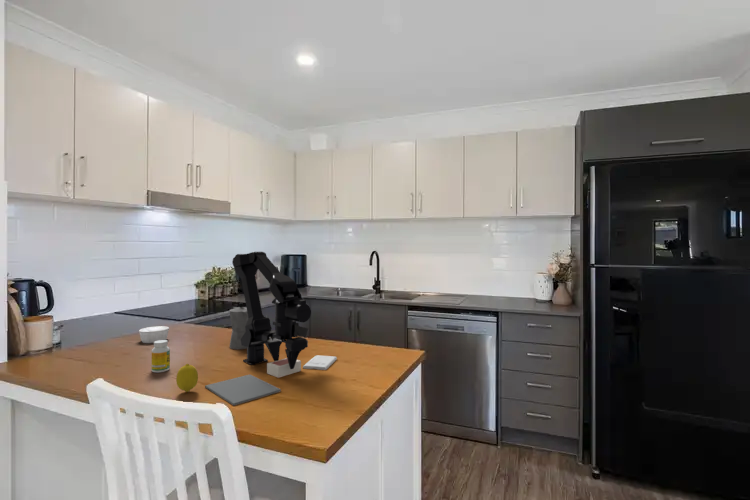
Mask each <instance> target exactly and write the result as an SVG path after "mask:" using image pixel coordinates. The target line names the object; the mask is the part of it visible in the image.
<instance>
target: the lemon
mask: <svg viewBox="0 0 750 500" xmlns="http://www.w3.org/2000/svg"><path fill="white" fill-rule="evenodd" d="M175 381H176V385H177V388H179V389H180V390H182V391H184V392H186V393H189V392H190V391H191V390H193V389H194V388H195V387H196V386H197V384H198V381H199V373H198V370H197V368H196V367H195V366H194V365H192V364H189V363H186V364H185V365H183V366H181V367H180V368H179V369H178V371H177V374H176V380H175Z"/></svg>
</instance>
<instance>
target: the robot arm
mask: <svg viewBox="0 0 750 500" xmlns="http://www.w3.org/2000/svg"><path fill="white" fill-rule="evenodd" d="M232 266H233V268H234V272H235V274H236V275H237V276H238V277H239V278H240V279H241V284H242V290H243V295H244V301H245V308H247V313H248V320H247V323H246V326H245V330H246V332H245V333H244V335H243V337H242V338H241V345H242V346H245V347H247V348H246V358H244V359H243V361H242V362H244V363H246V364H248V365H251V366H253V365H258V364H262V363H266V362H268V361H269V359H267V358H265V346H266V348H267V350H268V352H269V353H270V355H271V357H272V360H273V362H274V361H278V360H280V350H281V345H282V343H283V344H284V346H285V349H284V352H285V356H286V358H287V359H288V363H289V366H290V369H294V366H295V363H296V360H298V357H299V356H300V355H299V354H300V353H301V352H302V351H303V350H305V349H307V348H309V341H308V340H307V339H306V338H307V336H308V333H309V330H310V329H309V328H308V327H304V326H300V325H299V323H306V322H308V321H309V319H310V318H311V316H312V310H311V307H310V306H309V305H308V304H307V300H305V299H303V297H302V294H301V292H300V291H299V287H298V286H297V283H296V281H295V280H294V279H293V278H291V277H290V276H288V275H286V274H283V273H282V272H281V271H280V270H279V269H278V268H277V266H276V265H275V264H274V263H273V262H272V261H271V259H269V257H267V253H266V252H264V251H252V252H249V253H237V254H235V256H234V257H233V258H232ZM258 271H259V272H260V274H262V276H263V277H264V279H266V280H267V282H268V284H269V290H270V292H271V294H272V296H273V297H274V299H273V300H272V301H271V304H273V305H275V312H274V313H275V316H274V317H275V321H273V320H272V325H274V326H275V327H274V328H275V329H273V330H272V326H271V319H270V318H269V317H265V315H264V314H263V309H262V305H261V299H260V294H259V289H258V283H257V278H256V275H257V272H258Z"/></svg>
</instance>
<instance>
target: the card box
mask: <svg viewBox="0 0 750 500" xmlns="http://www.w3.org/2000/svg"><path fill="white" fill-rule="evenodd" d="M301 371H302V360H300V359H297V360H296V363H295V366H294V369H290V366H289V363H288V359H287V357H285V358H282V359H279V360H278V361H274V360H273V361H270V362H267V363H266V374H267V375H270V376H273V377H276V378H282V377H285V376H288V375H292V374H294V373H298V372H301Z"/></svg>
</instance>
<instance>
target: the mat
mask: <svg viewBox="0 0 750 500" xmlns="http://www.w3.org/2000/svg"><path fill="white" fill-rule="evenodd" d="M204 387H205V389H207V390H208V391H210V392H212V393H213V394H215V395H216V396H218V397H219V398H221V399H222V400H224V401H226V402H227V403H229V404H230V405H232V406H237V405H240V404H244V403H247V402H250V401H254V400H258V399H261V398H263V397H267V396H270V395H274V394H277V393H281V392H282V389H281V388H279V387H277V386H275V385H273V384H271V383H268V382H267V381H264V380H262V379H261V378H258V377H257V376H254V375H252V374H246V375H242V376H238V377H233V378H229V379H226V380H221V381H218V382H214V383H209V384H207V385H206V384H205V385H204Z"/></svg>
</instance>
